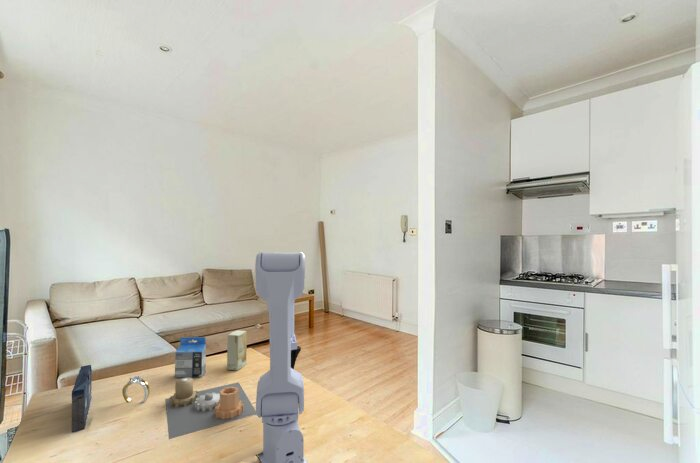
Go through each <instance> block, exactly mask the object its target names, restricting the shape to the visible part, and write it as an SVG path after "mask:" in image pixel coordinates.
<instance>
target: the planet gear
mask: <svg viewBox="0 0 700 463" xmlns="http://www.w3.org/2000/svg"><path fill="white" fill-rule="evenodd" d="M228 393H229V394H228ZM241 411H243V404H242V401H239V389H238V388H237V387H227V388H224V389H222V390H221V391H220V403H219V404H218V406H217V407H215V414H216V418H222V419H228V418H234V417H235V416H237V415H240V414H241Z"/></svg>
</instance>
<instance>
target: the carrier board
mask: <svg viewBox="0 0 700 463" xmlns="http://www.w3.org/2000/svg"><path fill="white" fill-rule="evenodd" d="M193 378H194V377H181V378H179V379H177V380H176V381H175V385H174V386H175V389H174V390H175V392H174V393H173V395H170V397H168V398H164V399H165V408H166V417H167V418H166V420H167V429H168V430H167V432H168V440H171V439H174V438H178V437H181V436H184V435H188V434H191V433H196V432H198V431H202V430H205V429H210V428H212V427H215V426H220V425H224V424H227V423H230V422H234V421H237V420H241V419H245V418H247V417H252V416H255V415H256V408H255V407H254V405H253V404H252V402H251V400H250V399H249V398H248V396H247V394H246V392H245V390H244V388H243V387H242V386H241V384H240V382H238V381H237V382H233V383H230V384H224V385H220V386H215V387H212V388H207V389H203V390H194V379H193ZM227 387H237V388H238V389H239V401H242V404H243V411H241V414H240V415H237V416H235V417H234V418H228V419H222V418H216V414H215V407H217V406H218V404H219V403H220V391H221V390H222V389H224V388H227ZM228 394H229V393H228Z"/></svg>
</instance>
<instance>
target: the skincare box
mask: <svg viewBox="0 0 700 463" xmlns="http://www.w3.org/2000/svg"><path fill="white" fill-rule="evenodd" d="M247 333H248V332H247V330H235V331H232V332H231V333H229V334H227V344H226V345H227V349H226V352H227V354H226V360H227V361H226V362H227V363H226V370H230V371H239V370H240V369H241V368H243V367H245V366H246V365H247V345H248V344H247V341H248V340H247V338H248V337H247V336H248V334H247Z"/></svg>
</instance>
